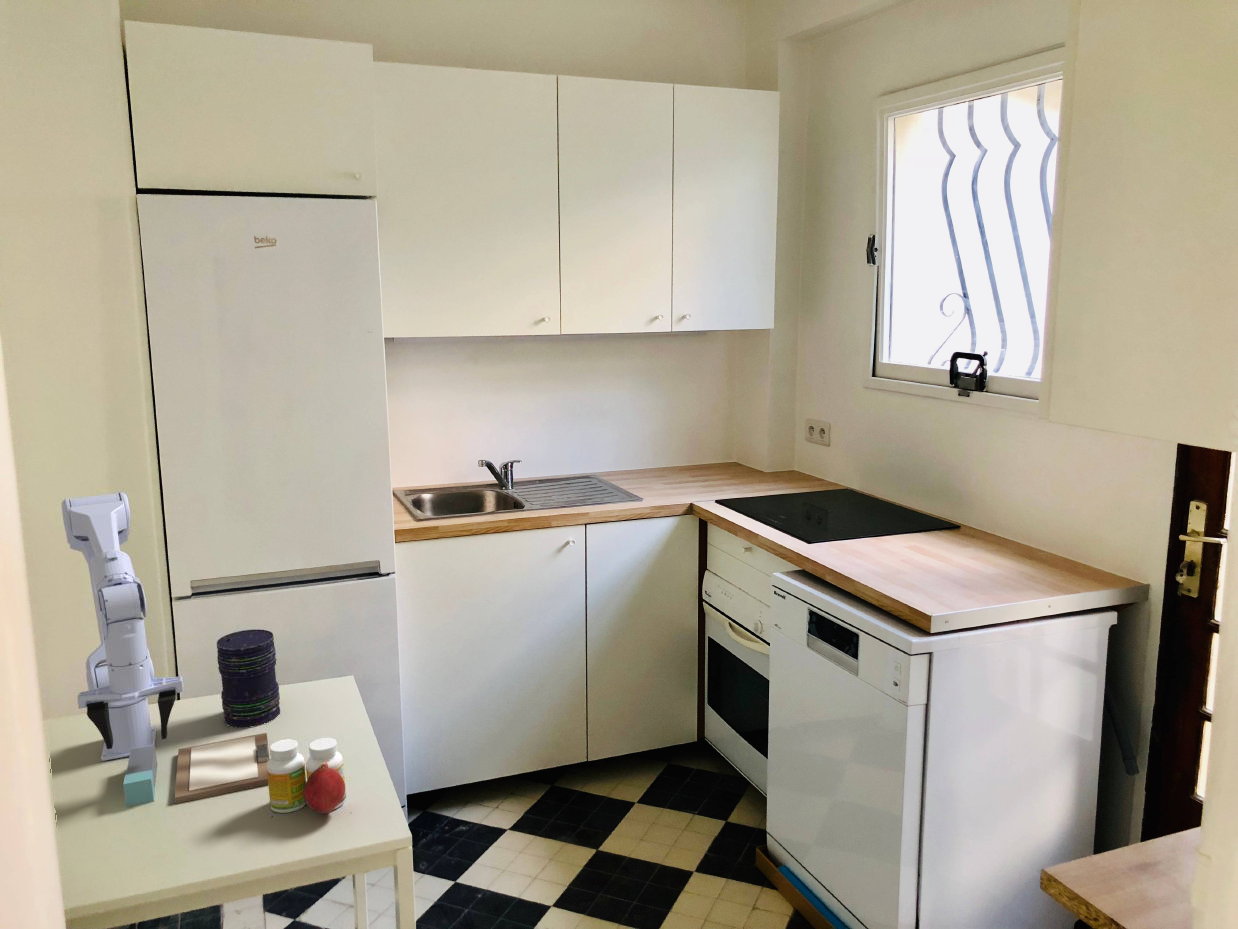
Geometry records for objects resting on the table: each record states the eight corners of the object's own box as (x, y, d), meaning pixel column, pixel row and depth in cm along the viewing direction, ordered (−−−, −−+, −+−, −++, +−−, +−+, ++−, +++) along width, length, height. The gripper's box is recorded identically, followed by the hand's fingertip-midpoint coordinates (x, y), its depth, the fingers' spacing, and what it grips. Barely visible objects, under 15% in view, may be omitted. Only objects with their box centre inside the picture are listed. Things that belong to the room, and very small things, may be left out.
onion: (312, 828, 137) (307, 777, 136) (301, 810, 142) (297, 761, 140) (351, 815, 140) (348, 765, 139) (340, 798, 145) (336, 750, 143)
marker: (133, 766, 156) (130, 745, 156) (158, 762, 158) (155, 740, 157) (126, 807, 144) (123, 784, 143) (153, 801, 145) (151, 778, 145)
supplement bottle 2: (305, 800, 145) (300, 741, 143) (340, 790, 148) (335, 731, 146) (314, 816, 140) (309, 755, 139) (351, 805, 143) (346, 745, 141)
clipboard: (179, 754, 160) (178, 744, 160) (267, 738, 165) (266, 728, 165) (175, 803, 145) (174, 792, 144) (272, 783, 150) (271, 773, 150)
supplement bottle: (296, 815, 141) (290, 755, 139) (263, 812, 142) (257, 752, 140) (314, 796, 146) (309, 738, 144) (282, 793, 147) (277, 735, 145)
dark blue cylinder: (286, 702, 180) (279, 627, 177) (274, 725, 170) (267, 647, 167) (231, 706, 178) (223, 631, 175) (216, 730, 169) (208, 651, 166)
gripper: (70, 677, 140) (82, 762, 143) (178, 660, 146) (187, 742, 148) (77, 660, 147) (87, 742, 149) (179, 645, 152) (188, 724, 155)
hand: (137, 741), depth 149 cm, fingers open, 7 cm apart
